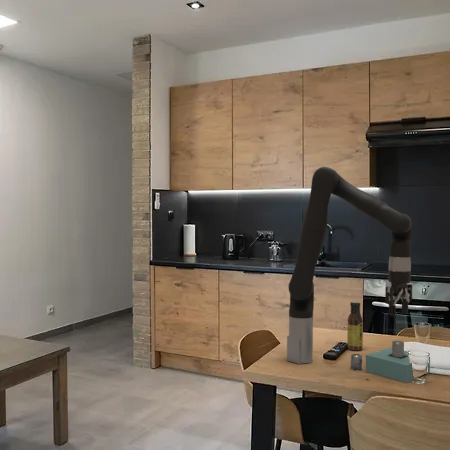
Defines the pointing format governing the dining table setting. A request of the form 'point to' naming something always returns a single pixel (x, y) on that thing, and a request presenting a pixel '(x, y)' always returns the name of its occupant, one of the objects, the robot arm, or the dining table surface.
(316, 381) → the dining table surface
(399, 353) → the long pin
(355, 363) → the short pin
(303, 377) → the dining table surface
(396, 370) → the hole block
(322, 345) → the dining table surface
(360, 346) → the sauce bottle
